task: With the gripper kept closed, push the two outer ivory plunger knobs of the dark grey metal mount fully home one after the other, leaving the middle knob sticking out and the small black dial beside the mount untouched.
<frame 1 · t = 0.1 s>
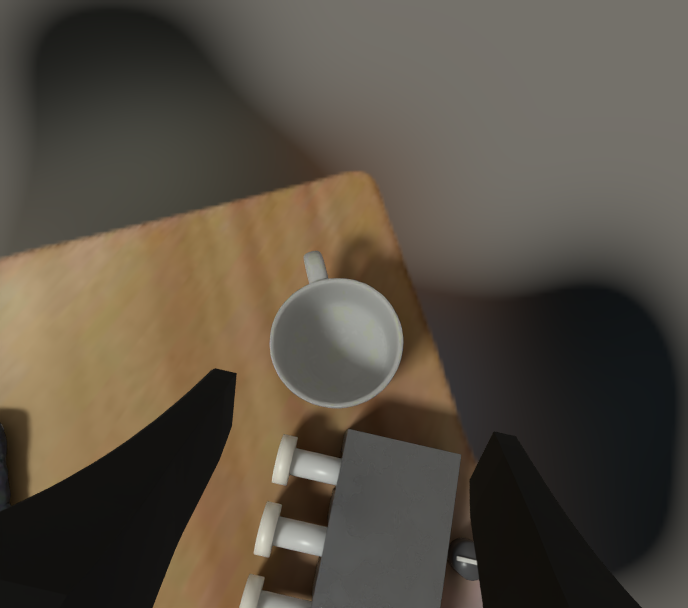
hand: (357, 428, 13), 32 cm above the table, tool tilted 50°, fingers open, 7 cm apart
knob 2: (325, 468, 41), point 3 cm above the table, slide at 0.0 cm
mount: (376, 548, 41), on the table
black dial: (463, 555, 42), on the table
knob middle: (310, 538, 39), point 3 cm above the table, slide at 0.0 cm
teacup: (332, 341, 47), on the table
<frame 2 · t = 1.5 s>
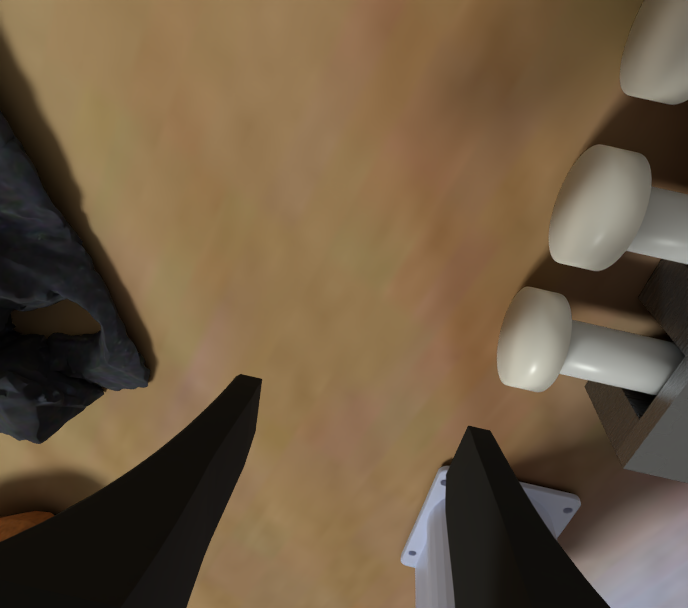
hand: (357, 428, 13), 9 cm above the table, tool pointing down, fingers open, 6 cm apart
knob 1: (617, 358, 19), point 3 cm above the table, slide at 0.0 cm
potato: (36, 530, 36), on the table
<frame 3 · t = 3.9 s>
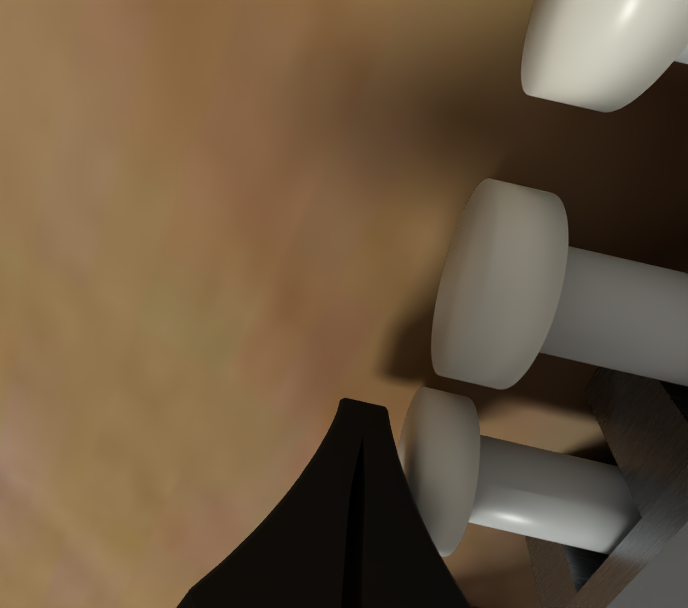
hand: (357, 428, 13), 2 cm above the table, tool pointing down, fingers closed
knob 1: (560, 497, 13), point 3 cm above the table, slide at 0.4 cm, touching gripper
knob middle: (657, 323, 10), point 3 cm above the table, slide at 0.0 cm
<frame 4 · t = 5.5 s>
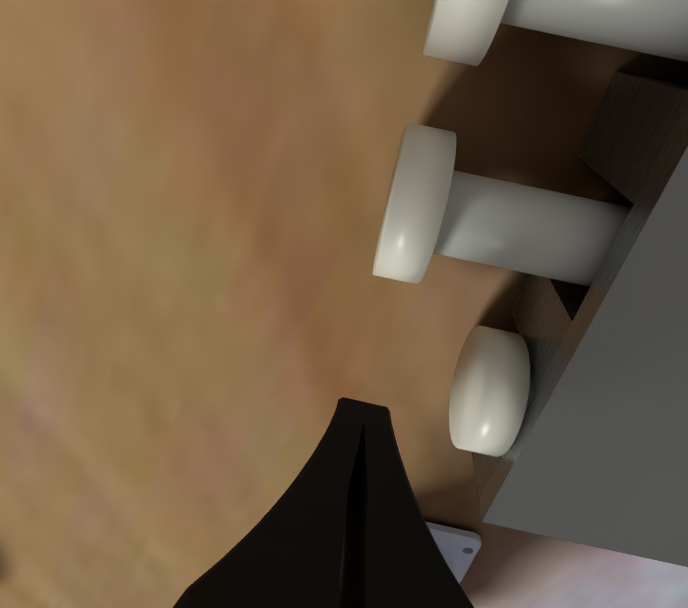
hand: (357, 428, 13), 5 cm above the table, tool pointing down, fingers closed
knob 1: (591, 412, 16), point 3 cm above the table, slide at 3.9 cm
knob middle: (540, 233, 13), point 3 cm above the table, slide at 0.0 cm
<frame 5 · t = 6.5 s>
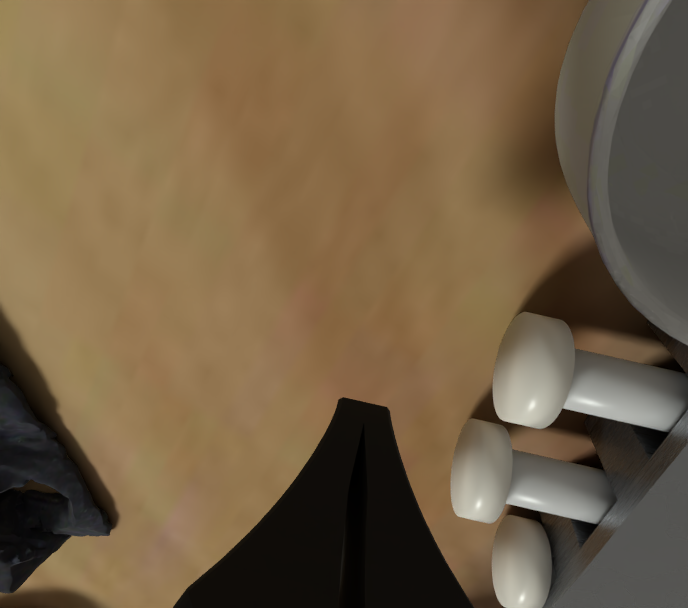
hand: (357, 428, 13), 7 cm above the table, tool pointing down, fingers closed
knob 2: (624, 390, 17), point 3 cm above the table, slide at 0.0 cm
knob 1: (591, 578, 23), point 3 cm above the table, slide at 3.9 cm
mount: (668, 469, 22), on the table
knob middle: (560, 487, 20), point 3 cm above the table, slide at 0.0 cm
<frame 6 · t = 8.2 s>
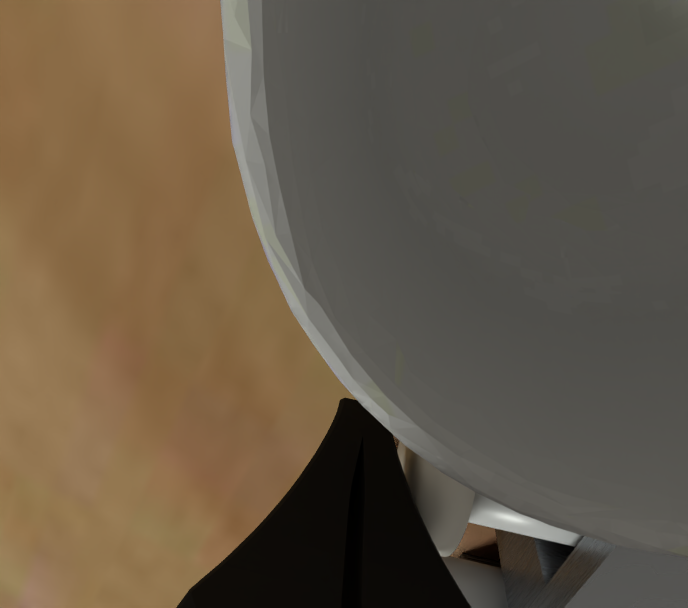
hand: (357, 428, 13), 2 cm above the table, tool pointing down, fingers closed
knob 2: (560, 497, 13), point 3 cm above the table, slide at 1.2 cm, touching gripper
mount: (601, 558, 18), on the table
knob middle: (451, 595, 15), point 3 cm above the table, slide at 0.0 cm
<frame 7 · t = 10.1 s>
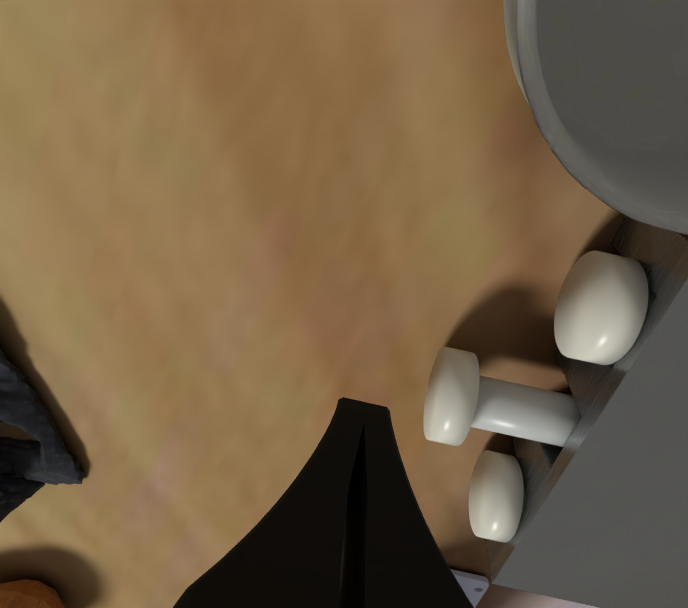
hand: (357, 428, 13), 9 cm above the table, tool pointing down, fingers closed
knob 1: (564, 510, 23), point 3 cm above the table, slide at 3.9 cm
mount: (639, 400, 23), on the table
knob middle: (529, 412, 20), point 3 cm above the table, slide at 0.0 cm
potato: (27, 592, 41), on the table
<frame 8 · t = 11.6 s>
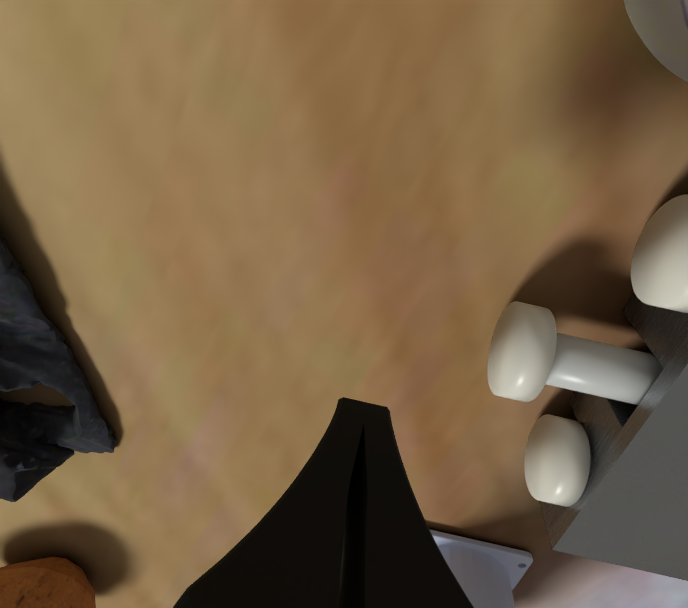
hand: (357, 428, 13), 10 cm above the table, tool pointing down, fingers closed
knob 1: (626, 475, 23), point 3 cm above the table, slide at 3.9 cm
knob middle: (601, 369, 20), point 3 cm above the table, slide at 0.0 cm
potato: (52, 571, 40), on the table
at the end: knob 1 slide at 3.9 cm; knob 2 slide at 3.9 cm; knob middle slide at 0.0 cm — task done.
